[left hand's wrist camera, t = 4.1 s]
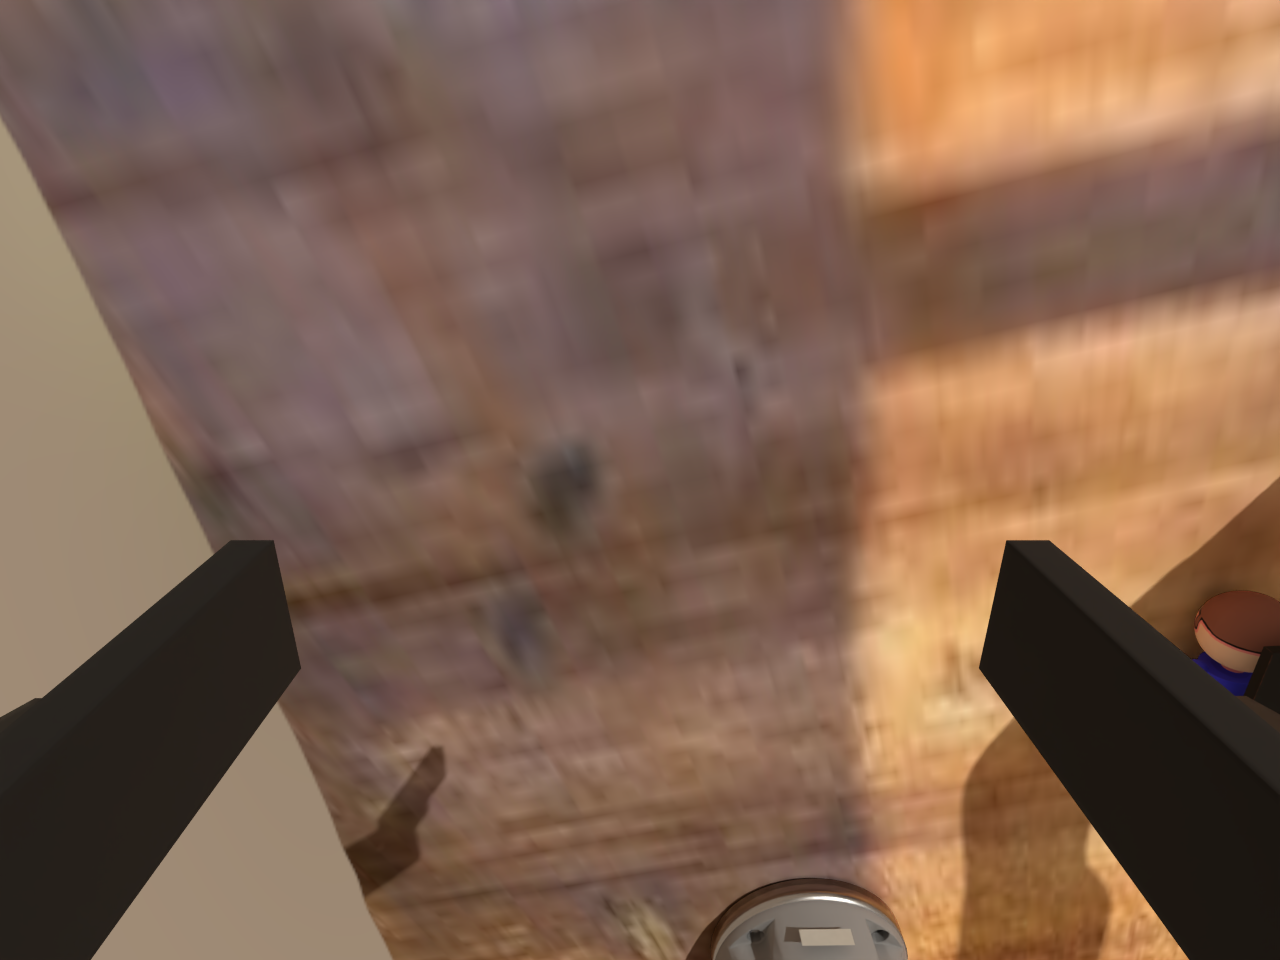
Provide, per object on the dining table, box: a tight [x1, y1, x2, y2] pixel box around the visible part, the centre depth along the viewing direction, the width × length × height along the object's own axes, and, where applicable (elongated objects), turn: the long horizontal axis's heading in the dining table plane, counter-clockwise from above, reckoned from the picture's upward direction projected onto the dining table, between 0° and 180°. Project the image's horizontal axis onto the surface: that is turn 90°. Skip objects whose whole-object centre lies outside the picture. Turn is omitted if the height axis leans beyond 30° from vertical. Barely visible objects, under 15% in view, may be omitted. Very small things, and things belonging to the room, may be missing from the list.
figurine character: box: [1192, 591, 1280, 714], centre depth 44 cm, size 7×8×15 cm
